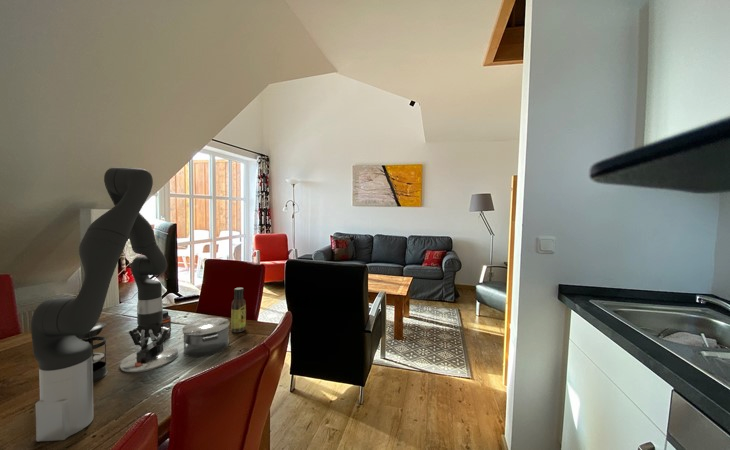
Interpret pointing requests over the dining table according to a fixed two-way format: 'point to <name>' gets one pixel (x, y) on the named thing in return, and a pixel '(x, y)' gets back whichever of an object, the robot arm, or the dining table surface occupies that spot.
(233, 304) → the sauce bottle
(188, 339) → the cooker pot
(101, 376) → the french press
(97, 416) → the dining table surface
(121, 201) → the robot arm
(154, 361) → the cooker lid
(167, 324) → the supplement bottle
